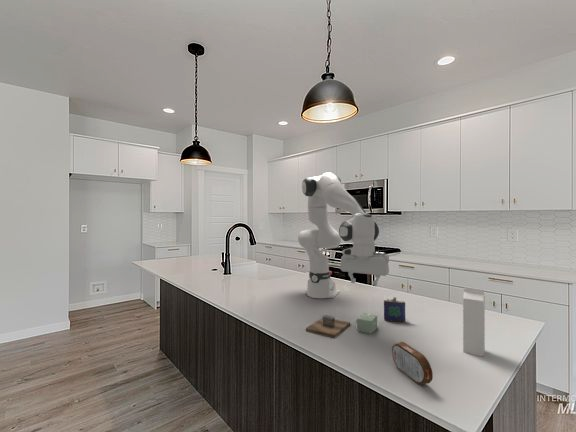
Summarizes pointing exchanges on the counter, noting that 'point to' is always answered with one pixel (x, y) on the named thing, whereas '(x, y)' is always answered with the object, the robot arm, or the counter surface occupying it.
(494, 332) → the counter surface
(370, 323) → the pale green block
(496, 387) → the counter surface
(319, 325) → the board
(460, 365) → the counter surface
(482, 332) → the milk
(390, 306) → the flask
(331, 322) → the grey block
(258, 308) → the counter surface
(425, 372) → the tin
